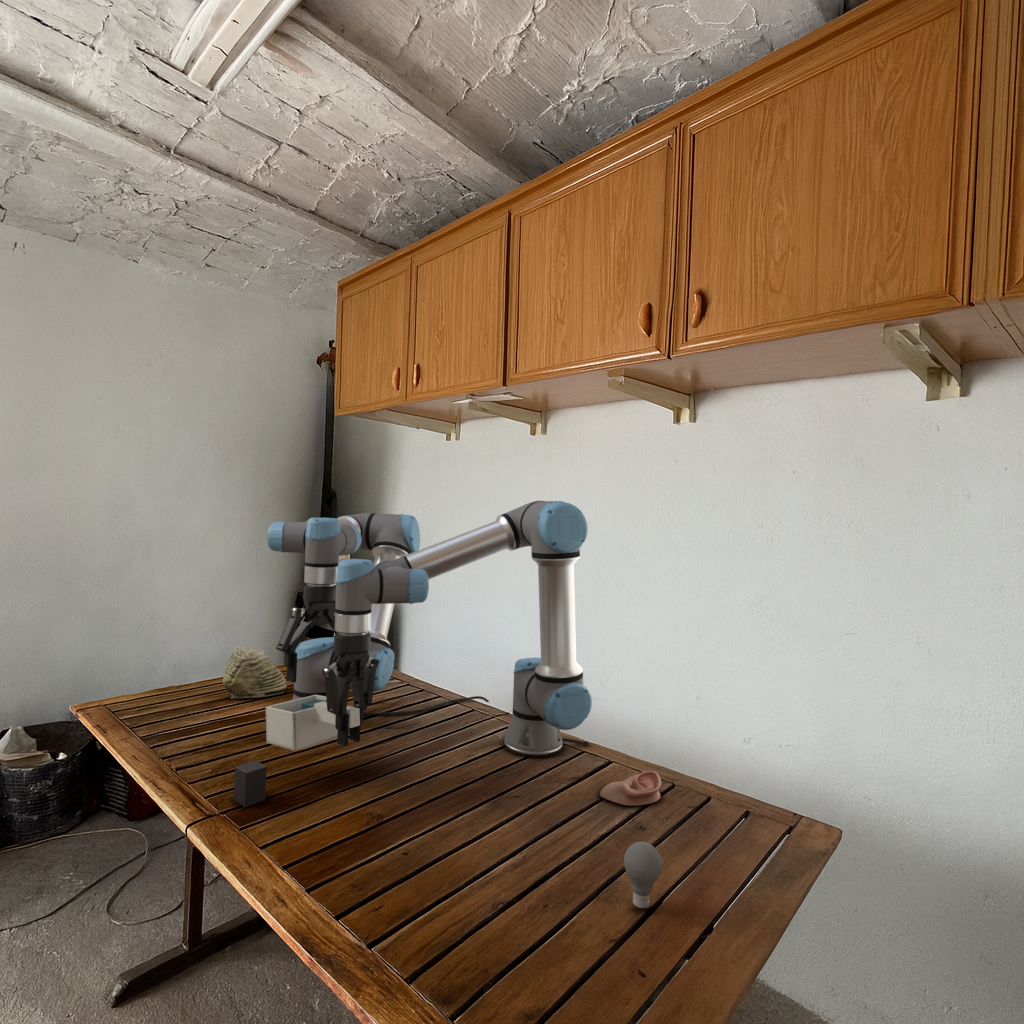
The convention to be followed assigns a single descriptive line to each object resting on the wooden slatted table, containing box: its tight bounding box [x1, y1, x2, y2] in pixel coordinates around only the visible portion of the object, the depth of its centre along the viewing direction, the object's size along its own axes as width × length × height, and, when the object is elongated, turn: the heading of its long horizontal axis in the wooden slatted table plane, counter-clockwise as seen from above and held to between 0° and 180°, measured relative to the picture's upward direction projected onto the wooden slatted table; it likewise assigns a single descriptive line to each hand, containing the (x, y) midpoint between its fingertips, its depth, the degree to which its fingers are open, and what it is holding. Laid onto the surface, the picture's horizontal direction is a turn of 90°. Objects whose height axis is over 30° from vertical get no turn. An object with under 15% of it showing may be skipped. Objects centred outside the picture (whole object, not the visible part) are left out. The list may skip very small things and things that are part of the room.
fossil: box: [222, 646, 288, 699], centre depth 198 cm, size 9×18×15 cm, turn 132°
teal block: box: [302, 699, 327, 710], centre depth 147 cm, size 4×4×7 cm
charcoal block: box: [233, 760, 268, 808], centre depth 131 cm, size 4×4×7 cm
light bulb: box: [623, 841, 663, 909], centre depth 102 cm, size 6×6×10 cm
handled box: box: [265, 695, 360, 752], centre depth 141 cm, size 13×24×9 cm, turn 51°
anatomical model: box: [599, 770, 662, 806], centre depth 141 cm, size 13×4×12 cm
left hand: (317, 675), depth 147 cm, fingers open, 13 cm apart
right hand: (348, 741), depth 135 cm, fingers closed on handled box, 2 cm apart
